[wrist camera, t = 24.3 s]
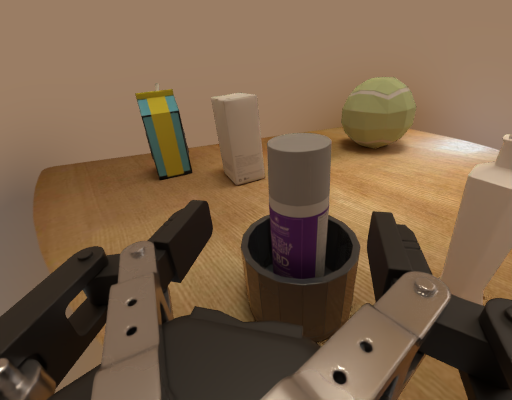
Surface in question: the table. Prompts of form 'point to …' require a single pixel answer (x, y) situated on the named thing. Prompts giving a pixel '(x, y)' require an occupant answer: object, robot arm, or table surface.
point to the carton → (164, 132)
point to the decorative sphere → (378, 112)
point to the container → (299, 203)
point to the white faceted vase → (481, 228)
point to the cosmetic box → (239, 136)
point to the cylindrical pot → (302, 282)
